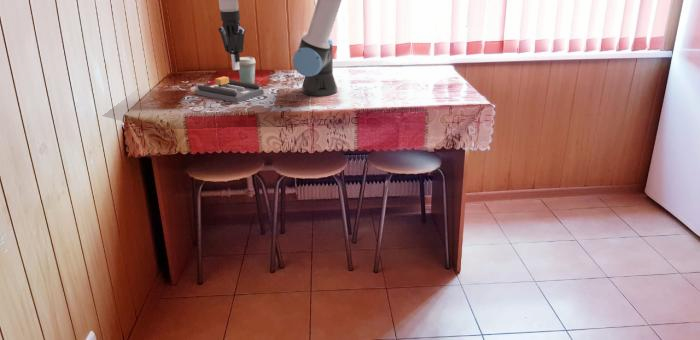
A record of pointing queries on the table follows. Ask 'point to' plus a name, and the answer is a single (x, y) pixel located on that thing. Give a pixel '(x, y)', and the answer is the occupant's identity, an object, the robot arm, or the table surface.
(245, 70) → the coffee cup
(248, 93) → the slide switch panel
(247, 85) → the pair of grey bars
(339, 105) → the table surface
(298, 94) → the table surface
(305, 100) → the table surface
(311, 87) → the robot arm
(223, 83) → the lever
